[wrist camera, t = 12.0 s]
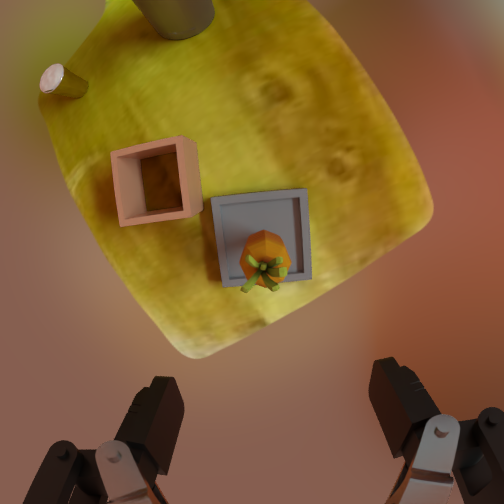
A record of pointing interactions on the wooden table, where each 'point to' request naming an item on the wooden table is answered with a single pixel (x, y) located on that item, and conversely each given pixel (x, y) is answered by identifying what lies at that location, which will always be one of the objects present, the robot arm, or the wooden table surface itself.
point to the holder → (131, 181)
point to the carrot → (264, 261)
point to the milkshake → (62, 82)
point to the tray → (256, 219)
